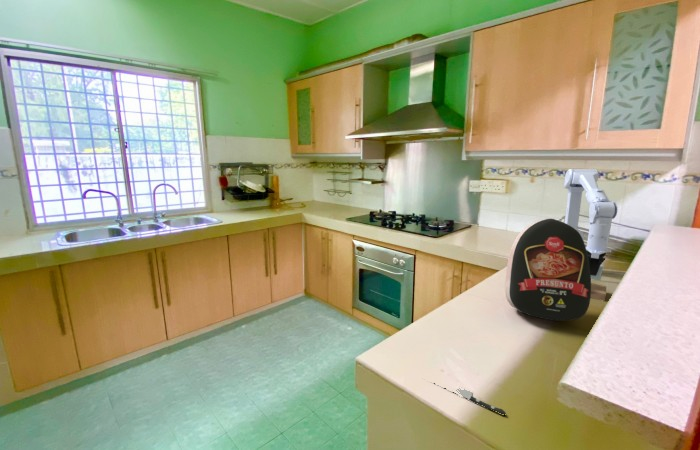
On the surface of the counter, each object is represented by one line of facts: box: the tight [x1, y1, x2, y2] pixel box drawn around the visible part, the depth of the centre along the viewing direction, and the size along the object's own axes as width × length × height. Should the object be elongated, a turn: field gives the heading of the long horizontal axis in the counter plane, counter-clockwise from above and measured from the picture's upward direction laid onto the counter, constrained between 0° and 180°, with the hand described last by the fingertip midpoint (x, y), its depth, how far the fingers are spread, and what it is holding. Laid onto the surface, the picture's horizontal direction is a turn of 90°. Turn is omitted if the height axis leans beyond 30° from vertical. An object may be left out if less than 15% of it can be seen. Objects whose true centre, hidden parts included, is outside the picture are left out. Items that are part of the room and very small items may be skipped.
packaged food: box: [504, 218, 592, 322], centre depth 97 cm, size 22×20×30 cm
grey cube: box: [591, 262, 604, 281], centre depth 113 cm, size 5×5×5 cm
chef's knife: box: [456, 388, 507, 415], centre depth 67 cm, size 19×1×3 cm
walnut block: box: [590, 282, 607, 302], centre depth 115 cm, size 9×9×3 cm
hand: (592, 272), depth 113 cm, fingers closed on grey cube, 5 cm apart
